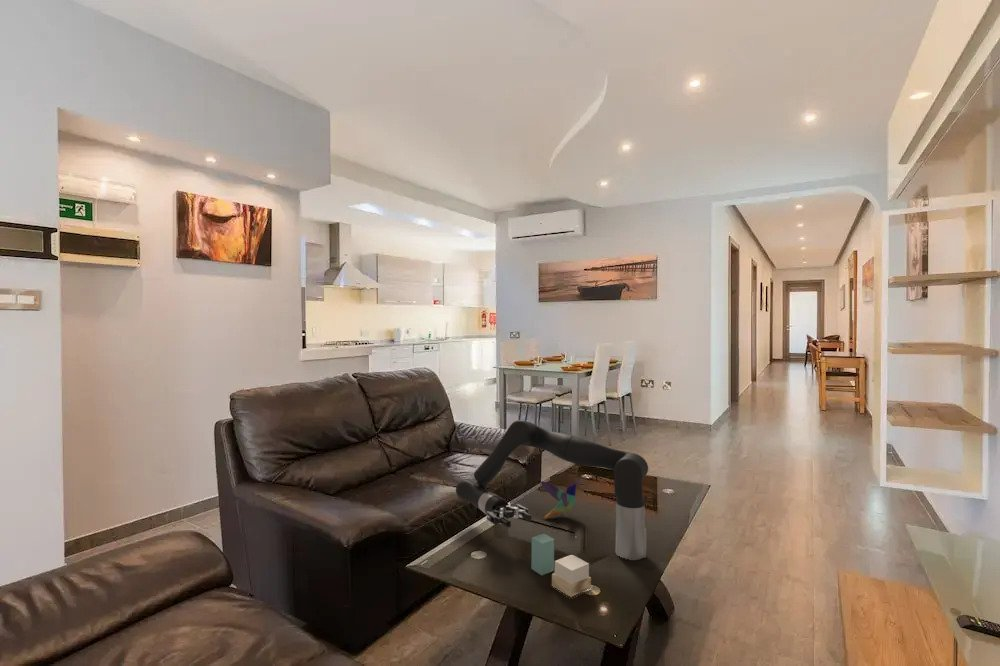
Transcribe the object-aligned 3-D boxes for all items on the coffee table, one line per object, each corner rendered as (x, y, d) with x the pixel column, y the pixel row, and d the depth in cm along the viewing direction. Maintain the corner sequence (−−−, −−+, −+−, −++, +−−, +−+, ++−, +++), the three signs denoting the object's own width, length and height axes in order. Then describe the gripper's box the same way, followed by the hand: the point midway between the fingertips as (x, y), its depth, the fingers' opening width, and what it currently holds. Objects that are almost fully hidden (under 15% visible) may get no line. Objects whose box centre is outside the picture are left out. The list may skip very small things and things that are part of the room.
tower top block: (571, 567, 149) (571, 554, 149) (588, 577, 144) (588, 563, 144) (554, 574, 145) (554, 560, 145) (571, 584, 140) (571, 570, 139)
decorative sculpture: (595, 521, 193) (596, 483, 192) (553, 528, 186) (553, 488, 186) (573, 505, 209) (573, 470, 208) (533, 511, 202) (534, 475, 201)
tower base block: (571, 579, 150) (571, 566, 150) (590, 591, 144) (590, 577, 144) (551, 587, 146) (551, 573, 145) (570, 599, 139) (570, 585, 139)
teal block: (543, 564, 159) (543, 533, 158) (553, 570, 155) (554, 539, 154) (531, 568, 156) (531, 537, 155) (541, 575, 152) (541, 543, 151)
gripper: (476, 499, 173) (503, 515, 160) (509, 491, 181) (537, 506, 168) (476, 520, 173) (502, 537, 160) (508, 511, 182) (536, 527, 168)
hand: (520, 521), depth 164 cm, fingers open, 8 cm apart
